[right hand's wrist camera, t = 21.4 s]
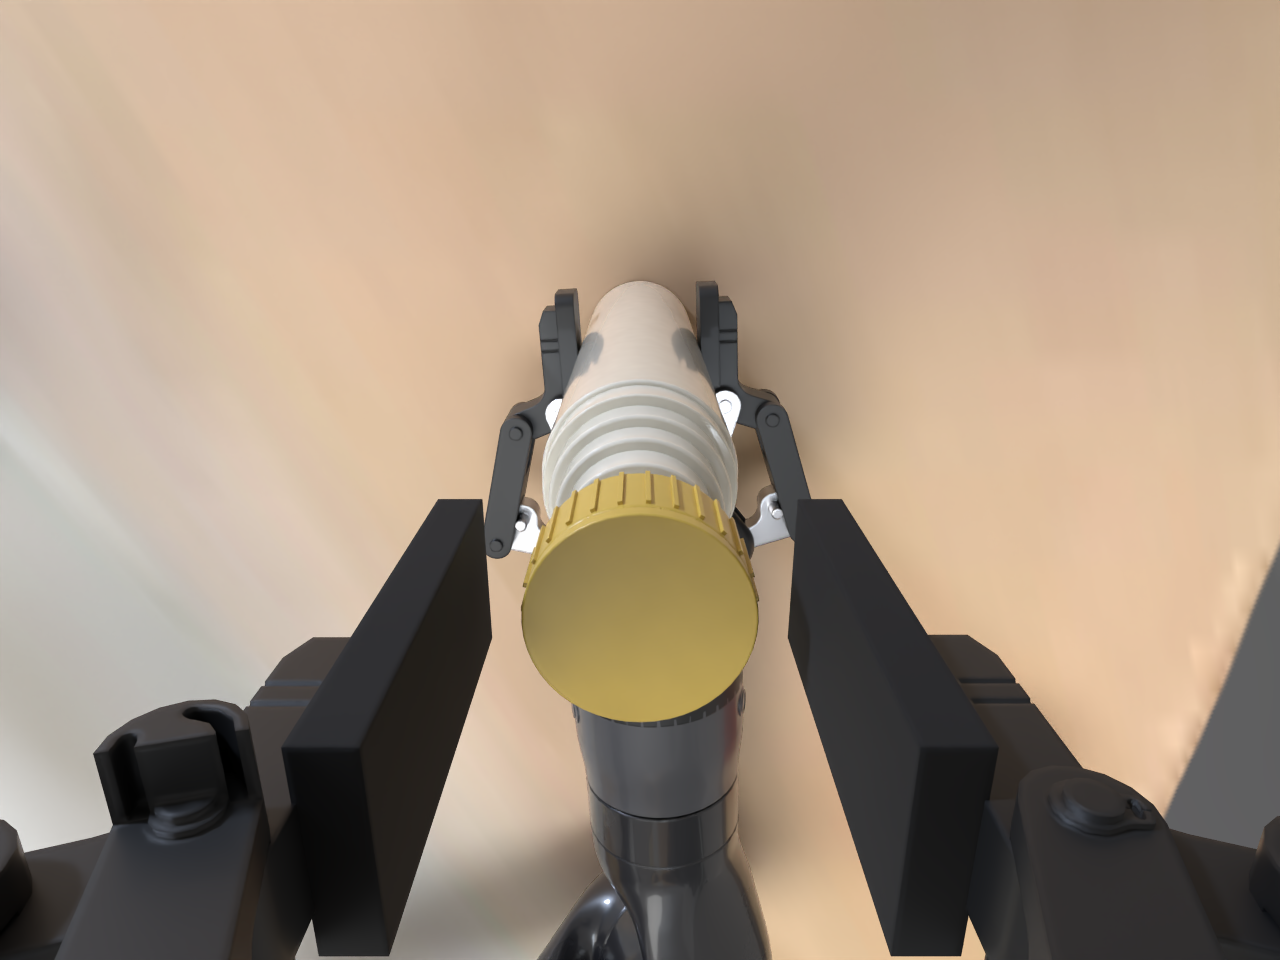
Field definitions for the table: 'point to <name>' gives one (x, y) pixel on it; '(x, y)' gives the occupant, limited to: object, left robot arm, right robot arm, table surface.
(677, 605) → the cap
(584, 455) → the bottle
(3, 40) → the table surface
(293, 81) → the table surface
